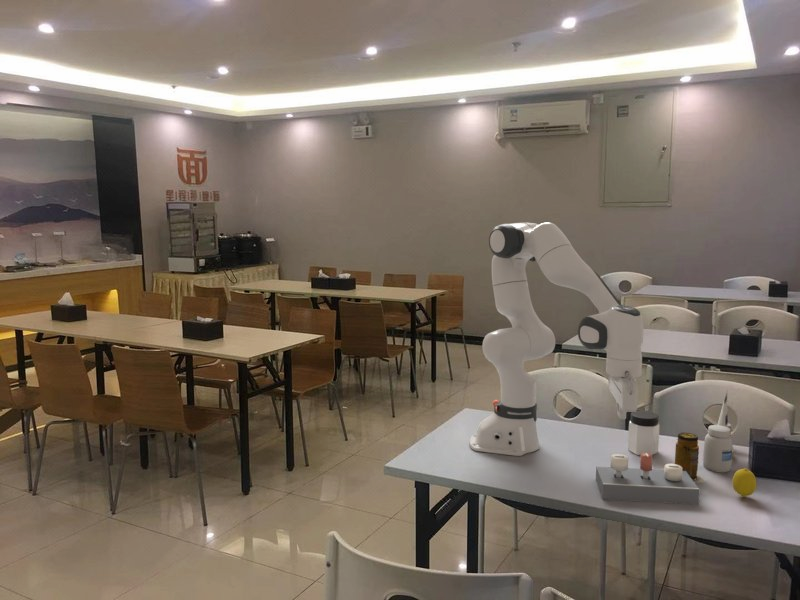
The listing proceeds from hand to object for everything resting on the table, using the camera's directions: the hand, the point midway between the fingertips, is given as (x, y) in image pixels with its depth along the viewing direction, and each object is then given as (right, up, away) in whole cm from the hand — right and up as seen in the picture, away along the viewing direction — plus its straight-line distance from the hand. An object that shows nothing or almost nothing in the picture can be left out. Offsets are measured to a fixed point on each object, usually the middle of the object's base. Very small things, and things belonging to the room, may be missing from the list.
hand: (621, 417), depth 171 cm
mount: (+7, -20, +2) cm, 22 cm away
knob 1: (0, -18, +3) cm, 18 cm away
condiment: (+23, -19, +12) cm, 32 cm away
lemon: (+32, -21, -2) cm, 38 cm away
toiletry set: (+39, -17, +25) cm, 49 cm away
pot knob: (+7, -18, +2) cm, 19 cm away
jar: (+17, -16, +30) cm, 39 cm away
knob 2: (+14, -20, +1) cm, 24 cm away
